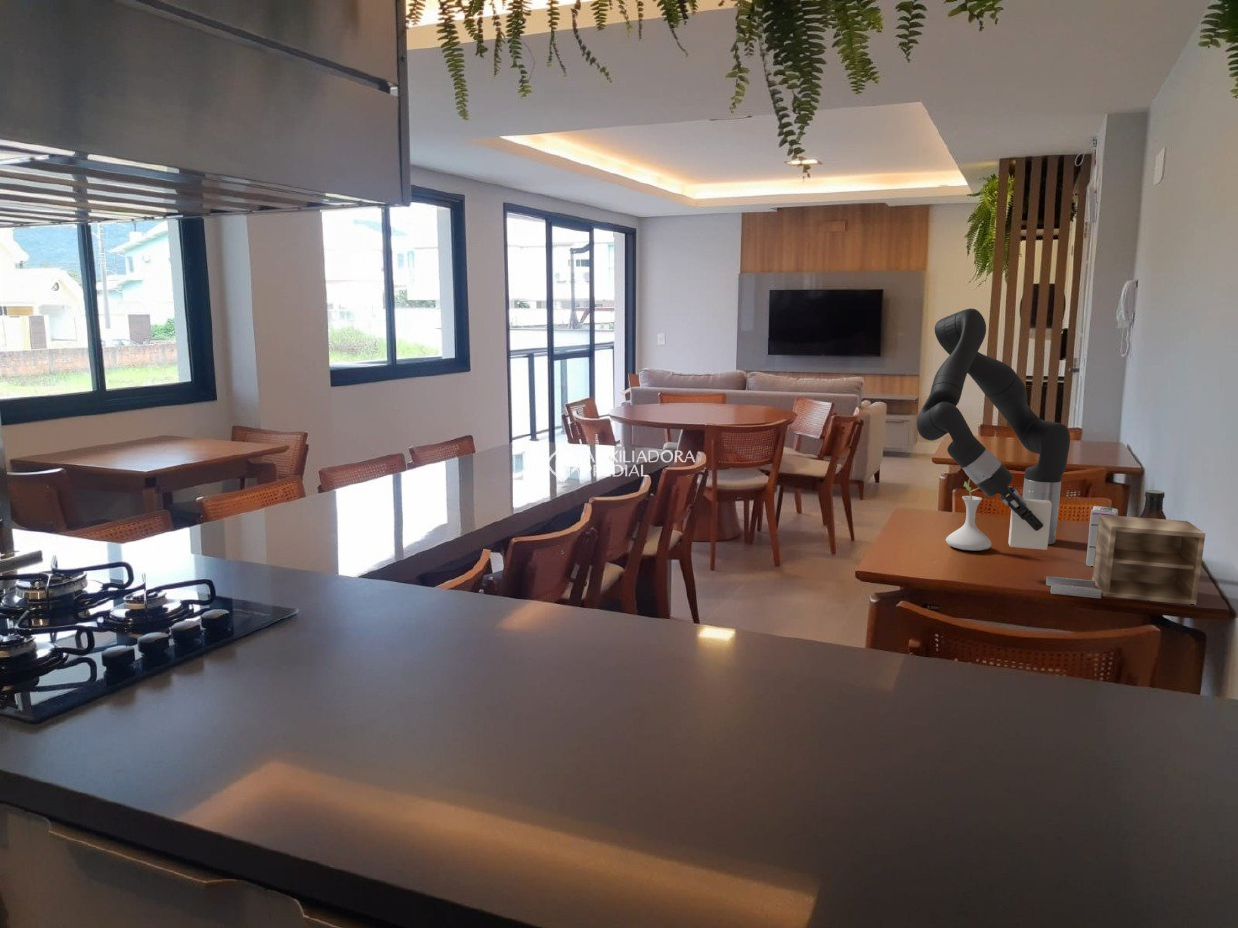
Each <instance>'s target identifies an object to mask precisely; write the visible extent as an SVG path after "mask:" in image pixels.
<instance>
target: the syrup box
mask: <svg viewBox="0 0 1238 928" xmlns="http://www.w3.org/2000/svg"><path fill="white" fill-rule="evenodd" d="M1099 515H1111V516H1119V509H1118V508H1116V507H1115V508H1114V507H1109V506H1098V505H1097V506H1094V505H1093V506H1092V508H1091V509H1090V520H1089V527H1088V539H1087V540H1088V541H1087V549H1086V560H1085V561H1086V562H1085V566H1086V567H1087V566H1088V567H1091V566H1093V567H1094V558H1095V549H1096V540H1097V532H1098V523H1099ZM1093 567H1092V568H1093Z"/></svg>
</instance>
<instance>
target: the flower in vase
mask: <svg viewBox="0 0 1238 928" xmlns="http://www.w3.org/2000/svg"><path fill="white" fill-rule="evenodd" d="M970 482H971V479H970V478H969V479H968V480H967V481H964V484H963V487H964V488H966V489H967V490H968V492H969V493H968V494H969V495H963V496H962V497H961V499H962V500H963V502H964V504H965V508H966V509H965V510H966V513H965V514H966V516H965V521H964V524H963V525H962V526H961V527H959V528H957V529H956V530H954V531H953V532H952V533H949V535H947V536H946V538H945V541H946V544H947V545H949V546H951V547H952V548H956V549H959V550H962V551H972V552H973V551H985V550H988V549H990V548H991V546H992V545H993V544H992V541H991V540H990V539H989V537H988V536H986V534H985V533H984V532H982V531H981V530H980V529H979V528H978V527H977V524H976V514H977V509H978V506H979V504H980V503H981V502H982V501H983V498H982V497H980V496H974V495H972V493H973V492H974V491H977V490H981V489H980V488H979V487H978V486H977V487H976V488H973V489H972V490H971V488H970Z"/></svg>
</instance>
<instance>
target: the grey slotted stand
mask: <svg viewBox="0 0 1238 928" xmlns="http://www.w3.org/2000/svg"><path fill="white" fill-rule="evenodd" d="M1045 579H1046V580H1045V585H1046V586H1047V587H1050V594H1051V595H1052V594H1053V595H1060V596H1061V595H1062V596H1072V597H1082V598H1093V599H1102V593H1101V591H1102V590H1101V589H1099V588H1097V587H1096V586H1095V581H1093V580H1092V579H1082V578H1069V577H1061V576H1060V577H1059V576H1050V575H1049V576H1048V575H1047V576H1046V578H1045Z"/></svg>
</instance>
